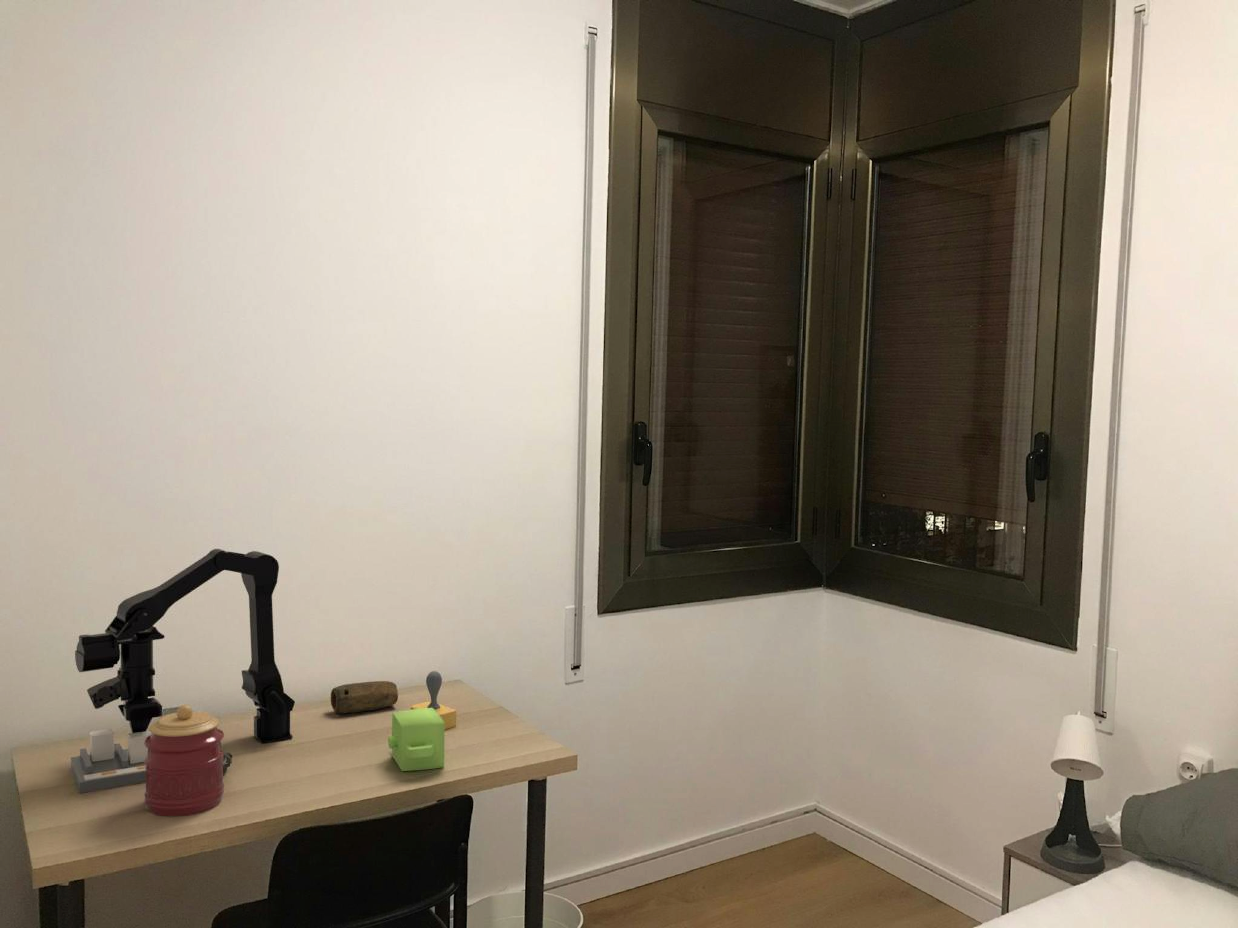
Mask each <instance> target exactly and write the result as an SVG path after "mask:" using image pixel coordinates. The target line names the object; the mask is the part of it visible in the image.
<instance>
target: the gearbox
mask: <svg viewBox="0 0 1238 928" xmlns="http://www.w3.org/2000/svg"><path fill="white" fill-rule="evenodd" d="M391 715H392V716H391V717H392V719H391V734H389V735H388V737H387V743H388V748H389V750H391V755H392V757H393V758H394V761H395V762H396V764H397V766H398V767H399V769H400V770H401V771H402V772H409V771H423V770H432V769H439V768H444V767H445V738H446V737H445V736H446V735H445V733H446V732H445V731H446V729H445V723H444V721H443V720H442V718H441V717H440V716H439V714H438V713H437V712H436V711H435V710H434V709H433V708H421V709H412V710H411V709H406V710H405V709H404V710H400V711H393V712H392V713H391Z"/></svg>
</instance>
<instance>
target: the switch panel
mask: <svg viewBox="0 0 1238 928" xmlns="http://www.w3.org/2000/svg"><path fill="white" fill-rule="evenodd" d="M70 769H71V772H72V775H73V777H74V780H75V784H76V787H77V790H78V793H79V794H83V793H84V794H85V793H90V792H97V791H101V790H106V789H113V788H118V787H119V788H120V787H125V786H130V785H136V784H143V783H146V764H145V762H140V763H134V764H130V762H129V760H128V748H126V749H125V748H124V749H123V747H122V745H121V743H114V759H108V760H102V761H96V762H92V761H91V758H90V754H89V753H88V751H87V748H82V749H81V748H80V749H79V756H72V757H70Z"/></svg>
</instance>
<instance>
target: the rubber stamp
mask: <svg viewBox="0 0 1238 928" xmlns="http://www.w3.org/2000/svg"><path fill="white" fill-rule="evenodd" d="M425 681H426V688H427V690H428V692H429V693H428V694H429V696H430V701H425V702H421V703H416V704H413V705H411V706H410V710H412V709H421V708H433V709H434V710H435V711H436V712H437V713H438V714H439V716H440V717H441V718H442V720H443V721H444V723H445V730H448V729H451V728H452V729H453V728H455V727H457V710H456V709H453V708H451V707H448V706H446V705H443V704H440V703H438V701H437V700H438V694H439V692H440V689H441V686H442V683H443V677H442V675H441V673H440V672H438V671H436V670H431V671H430V672H429V673H428V674H427V676H426V680H425Z"/></svg>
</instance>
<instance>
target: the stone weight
mask: <svg viewBox="0 0 1238 928" xmlns="http://www.w3.org/2000/svg"><path fill="white" fill-rule="evenodd" d="M398 699H399V691H398V688H397V685H396V683H394V682H393V681H389V680H378V681H377V680H375V681H363V682H355V683H354V682H353V683H346V684H341V685H338V686H335V687H333V688H332V689H331V691H330V704H331V707H332V710H333V711H334V713H335V714H340V715H341V714H355V713H361V712H362V713H363V712H369V711H375V710H380V709H383V708H387V707H391V706H394V705H395V704H396V703H397V702H398Z"/></svg>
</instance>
